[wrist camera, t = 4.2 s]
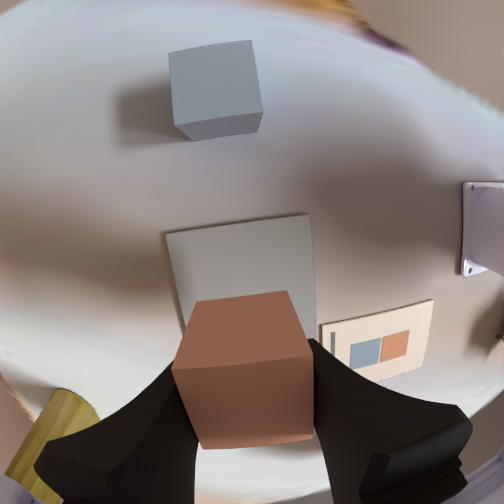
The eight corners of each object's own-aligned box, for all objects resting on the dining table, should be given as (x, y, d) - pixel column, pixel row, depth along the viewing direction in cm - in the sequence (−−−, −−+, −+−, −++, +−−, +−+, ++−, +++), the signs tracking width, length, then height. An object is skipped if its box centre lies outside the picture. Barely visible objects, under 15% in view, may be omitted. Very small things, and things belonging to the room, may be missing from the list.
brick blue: (249, 75, 15) (251, 39, 10) (257, 132, 16) (263, 112, 11) (187, 84, 15) (168, 53, 10) (193, 141, 16) (174, 125, 11)
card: (432, 299, 19) (434, 300, 19) (420, 365, 21) (421, 366, 21) (321, 324, 19) (322, 326, 19) (321, 393, 21) (322, 395, 21)
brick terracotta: (292, 363, 13) (313, 438, 8) (212, 372, 13) (202, 449, 8) (287, 289, 12) (313, 353, 7) (196, 301, 12) (170, 369, 7)
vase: (78, 429, 22) (35, 516, 8) (44, 391, 21) (-15, 476, 7) (111, 426, 22) (68, 531, 8) (74, 384, 20) (8, 488, 7)
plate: (307, 214, 17) (309, 215, 17) (315, 337, 20) (317, 340, 19) (167, 233, 17) (165, 234, 17) (194, 352, 20) (193, 356, 19)
